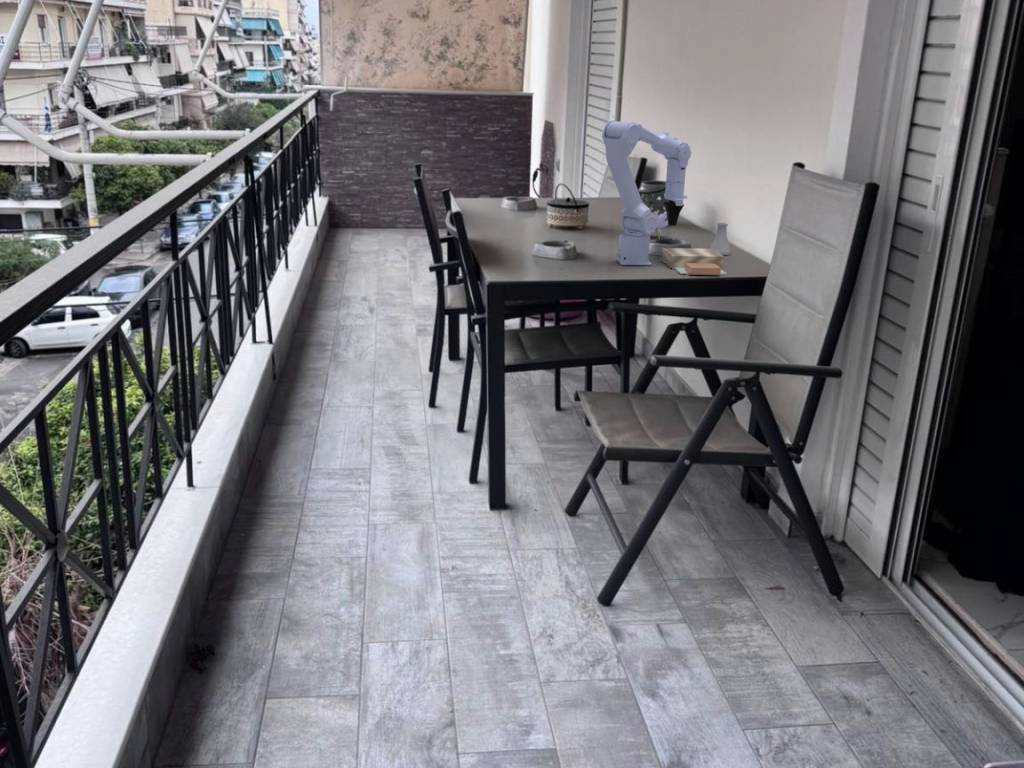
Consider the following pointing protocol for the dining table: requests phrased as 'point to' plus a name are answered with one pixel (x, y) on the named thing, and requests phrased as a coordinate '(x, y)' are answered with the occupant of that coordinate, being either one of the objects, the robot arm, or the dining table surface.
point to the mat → (683, 271)
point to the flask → (721, 240)
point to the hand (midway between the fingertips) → (672, 225)
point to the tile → (702, 268)
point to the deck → (691, 257)
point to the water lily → (660, 222)
